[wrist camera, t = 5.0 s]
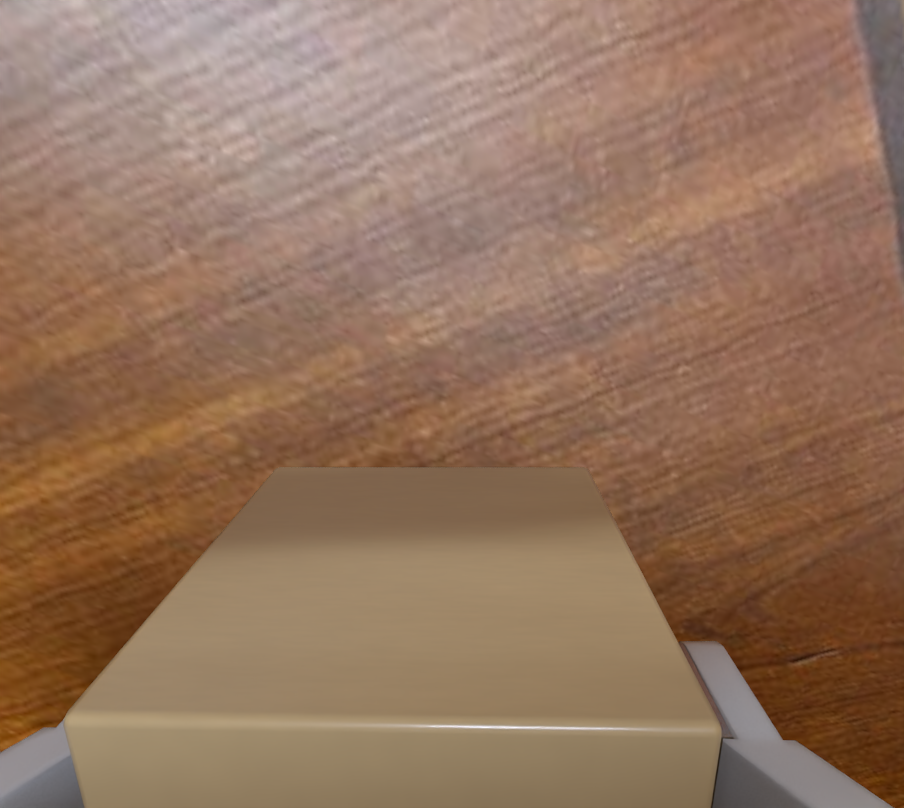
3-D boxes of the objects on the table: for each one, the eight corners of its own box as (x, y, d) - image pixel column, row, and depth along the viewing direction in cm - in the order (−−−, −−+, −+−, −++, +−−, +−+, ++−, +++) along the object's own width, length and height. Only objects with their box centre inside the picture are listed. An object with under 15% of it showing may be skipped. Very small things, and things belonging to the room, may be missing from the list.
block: (275, 464, 9) (54, 718, 4) (588, 465, 9) (728, 728, 4) (302, 716, 10) (159, 1120, 6) (573, 720, 10) (665, 1141, 5)
